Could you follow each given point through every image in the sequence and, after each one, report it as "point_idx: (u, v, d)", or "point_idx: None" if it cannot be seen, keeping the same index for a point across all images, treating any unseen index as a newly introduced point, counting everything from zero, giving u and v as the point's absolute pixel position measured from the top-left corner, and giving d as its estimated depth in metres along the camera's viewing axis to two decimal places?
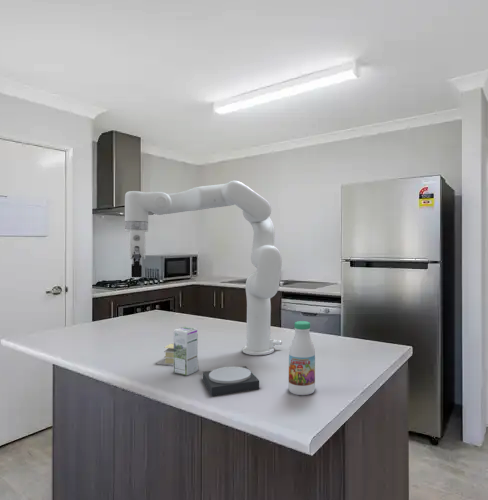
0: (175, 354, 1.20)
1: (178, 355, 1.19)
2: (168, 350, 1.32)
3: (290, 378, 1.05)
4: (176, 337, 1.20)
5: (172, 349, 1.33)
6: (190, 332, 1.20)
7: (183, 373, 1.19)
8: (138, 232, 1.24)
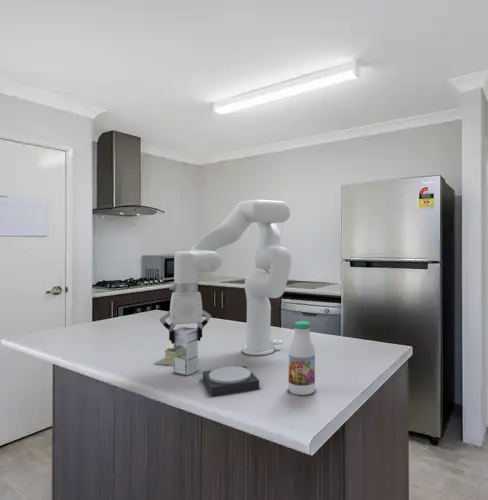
0: (175, 354, 1.20)
1: (178, 355, 1.19)
2: (168, 350, 1.32)
3: (290, 378, 1.05)
4: (176, 337, 1.20)
5: (172, 349, 1.33)
6: (190, 332, 1.20)
7: (183, 373, 1.19)
8: None
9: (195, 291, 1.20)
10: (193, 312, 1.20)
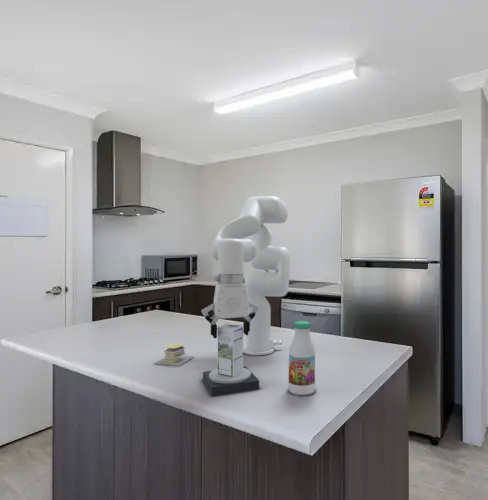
0: (219, 354, 1.10)
1: (223, 355, 1.09)
2: (168, 350, 1.32)
3: (290, 378, 1.05)
4: (221, 335, 1.09)
5: (172, 349, 1.33)
6: (236, 329, 1.09)
7: (229, 374, 1.09)
8: (216, 286, 1.09)
9: (241, 282, 1.10)
10: (239, 305, 1.10)
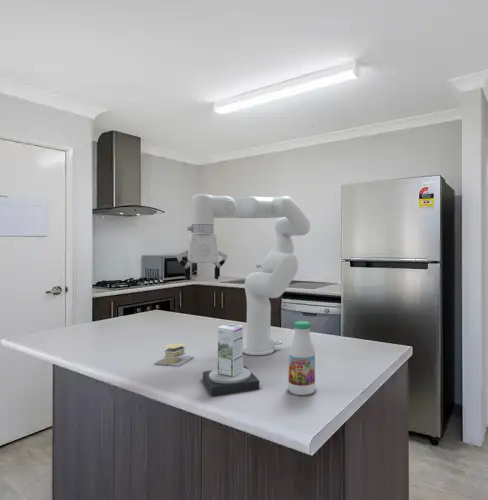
0: (219, 354, 1.10)
1: (223, 355, 1.09)
2: (168, 350, 1.32)
3: (290, 378, 1.05)
4: (221, 335, 1.09)
5: (172, 349, 1.33)
6: (236, 329, 1.09)
7: (229, 374, 1.09)
8: (189, 235, 1.25)
9: (211, 232, 1.26)
10: (210, 252, 1.26)
